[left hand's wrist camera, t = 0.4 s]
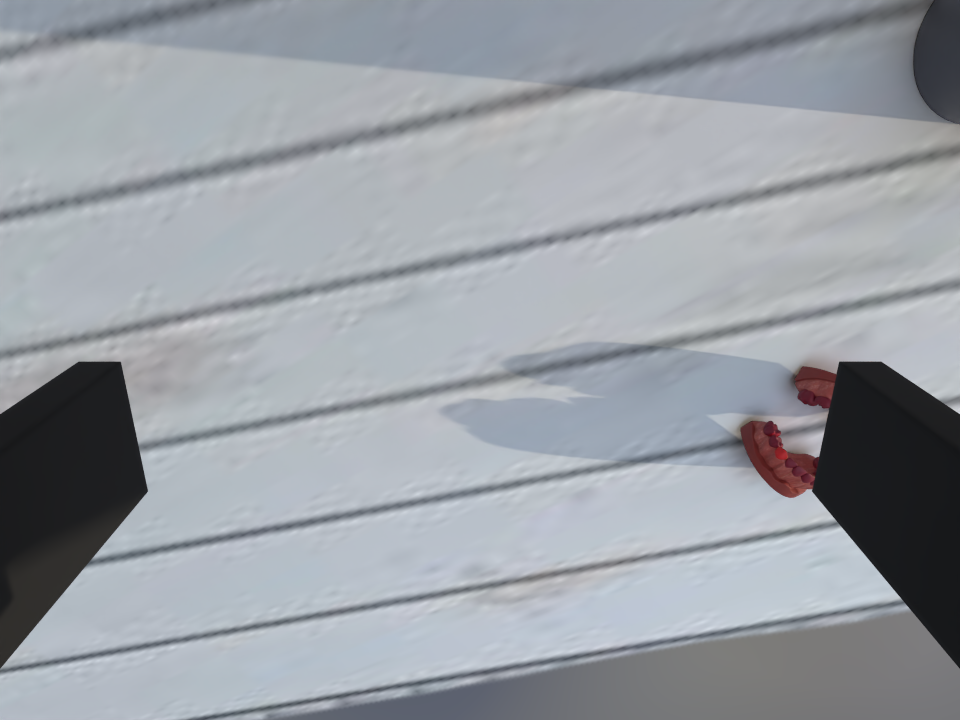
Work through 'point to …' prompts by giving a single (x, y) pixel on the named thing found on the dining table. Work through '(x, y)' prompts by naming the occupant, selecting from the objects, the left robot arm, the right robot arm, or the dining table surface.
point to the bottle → (940, 59)
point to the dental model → (766, 447)
